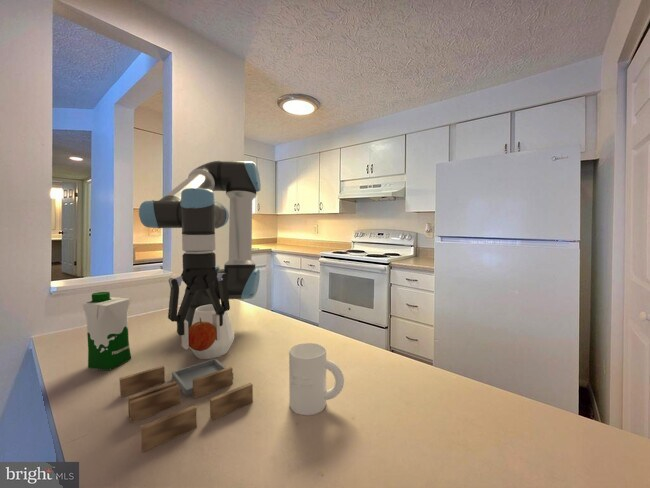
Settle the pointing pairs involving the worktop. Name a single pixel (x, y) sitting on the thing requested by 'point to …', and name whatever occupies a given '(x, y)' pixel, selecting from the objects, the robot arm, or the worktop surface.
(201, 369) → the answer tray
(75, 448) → the worktop surface
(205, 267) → the robot arm
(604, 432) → the worktop surface
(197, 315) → the cup
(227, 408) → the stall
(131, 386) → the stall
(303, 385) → the mug
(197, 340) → the fruit
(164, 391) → the stall
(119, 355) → the milk carton
